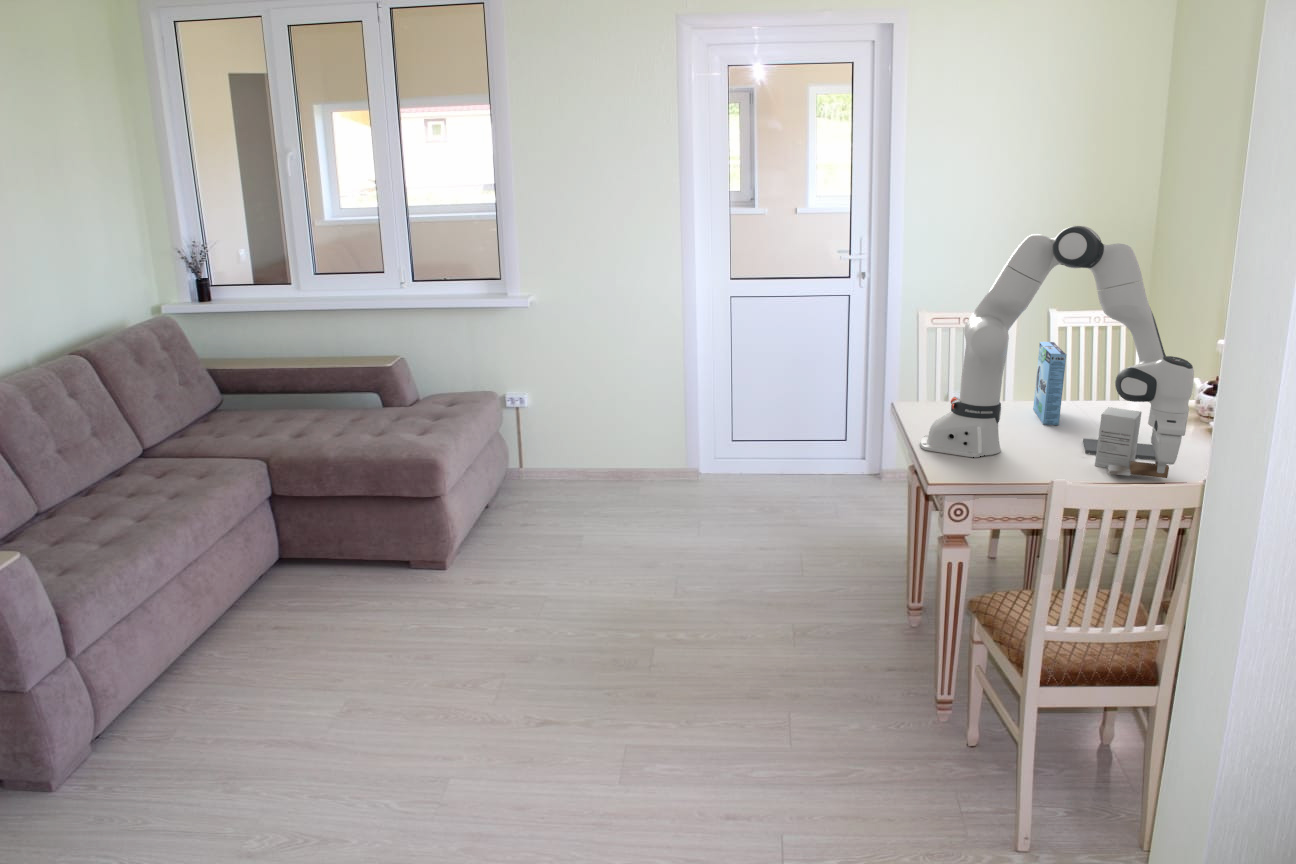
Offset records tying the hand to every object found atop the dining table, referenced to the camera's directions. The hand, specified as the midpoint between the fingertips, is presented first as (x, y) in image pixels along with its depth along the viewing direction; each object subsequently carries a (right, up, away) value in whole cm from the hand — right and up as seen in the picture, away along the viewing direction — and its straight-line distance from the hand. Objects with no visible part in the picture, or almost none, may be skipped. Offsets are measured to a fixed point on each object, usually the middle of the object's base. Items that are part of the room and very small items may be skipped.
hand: (1159, 470), depth 261 cm
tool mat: (+2, +5, +25) cm, 26 cm away
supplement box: (-5, +1, +14) cm, 15 cm away
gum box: (-6, +15, +60) cm, 62 cm away
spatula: (-5, -1, +2) cm, 5 cm away
